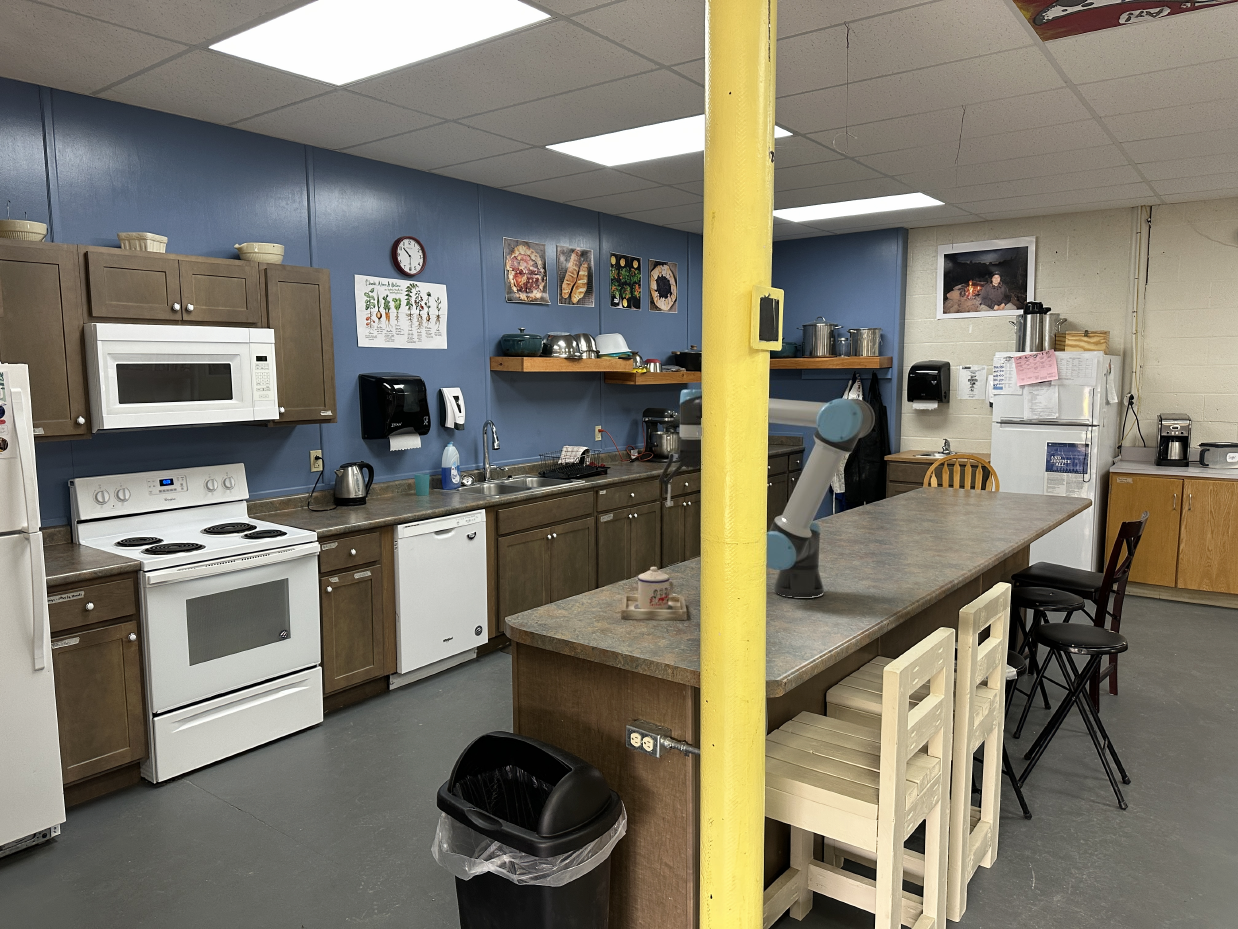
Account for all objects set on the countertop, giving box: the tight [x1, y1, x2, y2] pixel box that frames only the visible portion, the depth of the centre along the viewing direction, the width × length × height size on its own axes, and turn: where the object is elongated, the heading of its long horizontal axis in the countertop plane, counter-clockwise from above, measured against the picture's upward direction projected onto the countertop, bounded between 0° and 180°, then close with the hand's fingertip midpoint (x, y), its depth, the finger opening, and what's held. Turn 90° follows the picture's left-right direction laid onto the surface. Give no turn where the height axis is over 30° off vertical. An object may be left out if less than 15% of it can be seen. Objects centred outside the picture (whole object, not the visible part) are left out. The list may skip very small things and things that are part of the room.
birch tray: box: [620, 594, 688, 621], centre depth 236 cm, size 18×17×2 cm
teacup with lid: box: [637, 566, 675, 610], centre depth 235 cm, size 12×9×12 cm
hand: (690, 505), depth 263 cm, fingers open, 13 cm apart
